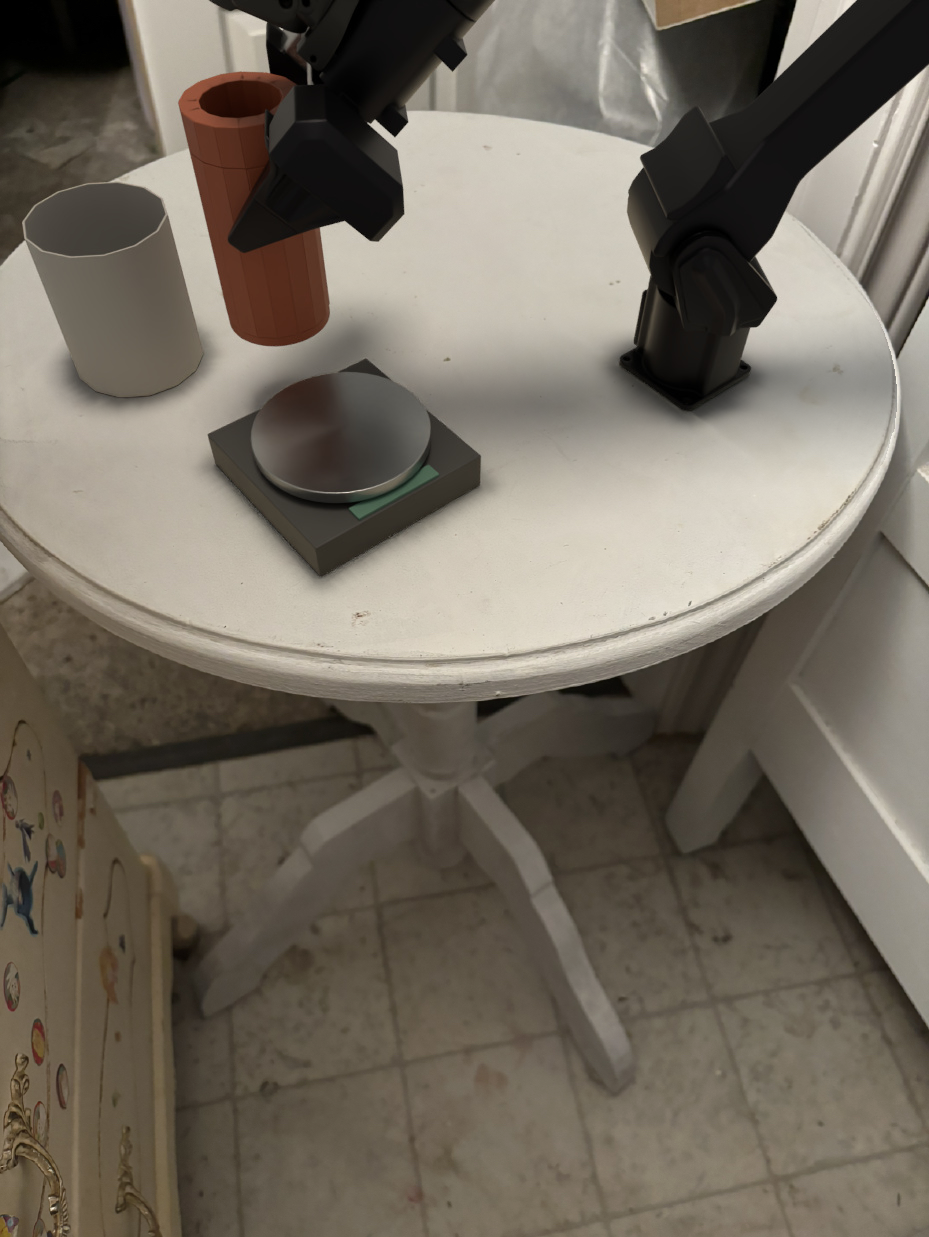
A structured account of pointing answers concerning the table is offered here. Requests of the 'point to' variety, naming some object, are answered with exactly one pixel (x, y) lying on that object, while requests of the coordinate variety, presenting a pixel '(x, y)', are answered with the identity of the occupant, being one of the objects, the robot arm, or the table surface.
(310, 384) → the scale pan
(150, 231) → the cup
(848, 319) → the table surface
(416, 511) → the scale
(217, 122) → the jar
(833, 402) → the table surface
